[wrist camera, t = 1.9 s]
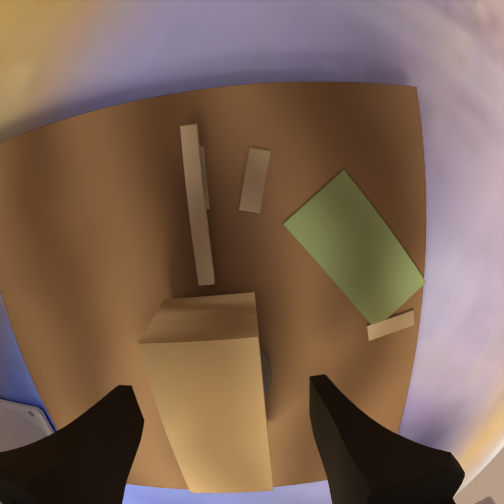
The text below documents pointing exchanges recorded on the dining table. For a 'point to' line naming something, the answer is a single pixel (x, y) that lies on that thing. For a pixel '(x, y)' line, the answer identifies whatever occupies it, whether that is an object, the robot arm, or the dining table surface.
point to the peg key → (210, 368)
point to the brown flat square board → (222, 249)
